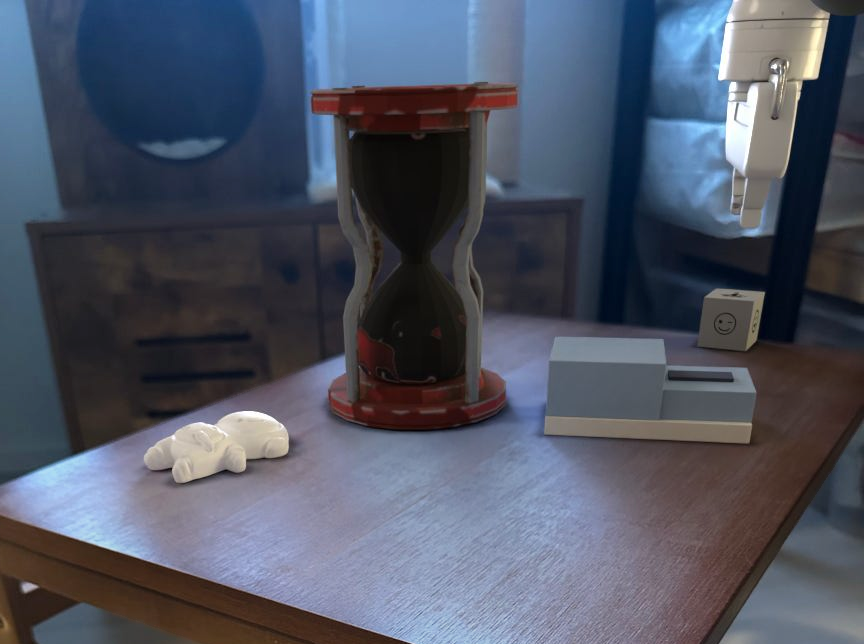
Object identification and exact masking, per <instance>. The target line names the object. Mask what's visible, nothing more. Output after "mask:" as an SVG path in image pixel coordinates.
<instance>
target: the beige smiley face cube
mask: <svg viewBox="0 0 864 644" xmlns="http://www.w3.org/2000/svg"><path fill="white" fill-rule="evenodd" d="M765 294H766V291H758V290H757V291H755V290H744V289H743V290H742V289H731V288H715V289H713V290H712V291H711V292H709V293H708V294H706V295H705V296H704V297H703V303H702V310H701V316H700V324H699V330H698V339H697V345H696V346H697V347H701V348H711V349H719V350H727V351H738V352H747V351H748V350H749V349H750V348H751V347H752V346H753V345H754V344H755V343H756V341H757V339H758V334H759V329H760V323H761V316H762V312H763V307H764V306H763V305H764V301H765V300H764V299H765Z"/></svg>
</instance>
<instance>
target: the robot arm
mask: <svg viewBox="0 0 864 644" xmlns="http://www.w3.org/2000/svg"><path fill="white" fill-rule="evenodd" d="M863 14H864V0H732V3H731V6H730V8H729V11H728V14H727V16H726V21H725V28H724V29H725V30H724V36H723V44H722V48H721V49H722V50H721V56H720V63H719V69H718V70H719V71H718V76H717V77H718V78H717V80H718V81H719V82H730V83H729V85H728V86H729V87H728V95H727V96H728V97H727V108H726V109H727V110H726V112H727V113H726V125H725V126H726V127H725V145H724V146H725V160H726V161H727V162H728V163H729V164H730V165H731V166H732V167H733V171H732V184H731V185H732V186H731V188H732V189H731V200H730V208H729V211H730V213H731V214H732V215H734V216H739V220H738V223H739V225H740V227H741V228H742V229H746V230H747V229H750V230H751V229H752V230H753V229H757V228H759V227H760V225H761V220H762V216H763V211H764V207H765V204H766V201H767V198H768V195H769V192H770V189H771V185H772V184H771V183H772V180H779V179H782V178H783V177H784V176H785V174H786V172H787V169H788V164H789V160H790V154H791V150H792V149H791V148H792V142H793V135H794V131H795V130H794V129H795V123H796V116H797V110H798V102H799V100H800V97H801V93H802V92H801V90H802V87H803V81H812V80H814V81H815V80H817V79H818V78H819V74H820V69H821V63H822V59H823V58H822V57H823V53H824V48H825V42H826V37H827V32H828V26H829V21H830V16H831V15H835V16H840V17H841V16H842V17H850V16H851V17H852V16H858V15H863Z"/></svg>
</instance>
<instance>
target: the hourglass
mask: <svg viewBox="0 0 864 644" xmlns="http://www.w3.org/2000/svg"><path fill="white" fill-rule="evenodd" d="M518 87H519V85H518V83H515V82H514V83H512V82H506V83H505V82H504V83H503V82H501V83H494V82H493V83H489V81H474V82H473V83H459V84H458V83H456V84H455V83H454V84H427V85H426V84H419V85H418V84H417V85H391V86H366V85H351V87H332V88H320V89H311V90H310V92H309V93H310V94H311V96H310V111H311V112H310V113H312V114H314V115H317V116H318V115H319V116H333V135H334V155H335V156H334V158H335V178H336V198H337V218H338V221H339V224H340V228H341V230H342V234H343V235H344V236H345V238H346V239H347V241H348V242H349V243H350V245H351V246H352V251H353V256H354V262H355V273H354V284H353V287H352V289H351V291H350V293H349V295H348V297H347V299H346V300H345V305H344V311H343V316H342V322H343V343H344V344H343V345H344V359H345V360H344V362H345V372H344V373H343V374H341V375H340V376H338V377H336V378H335V379H332V381H331V383H330V385H329V386H328V388H327V399H328V406H329V408H330V409H331V411H332V413H333V414H334V415H336V416H338V417H340V418H342V419H343V420H345V421H347V422H350V423H355V424H359V425H362V426H366V427H372V428H379V429H386V430H387V429H388V430H390V429H391V430H411V431H413V430H415V431H416V430H418V431H421V430H422V431H423V430H424V431H425V430H435V429H446V428H455V427H460V426H464V425H469V424H476V423H478V422H480V421H483V420H485V419H488V418H490V417H492V416H495V415H496V414H498V413H499V412H500V411H501V410H502V409H503V408H504V407H505V406H506V400H507V381H506V380H505V379H503V377H502V376H500V375H499V374H498V373H496V372H494V371H491V370H489V369H486V368H483V367H482V352H483V351H482V349H483V347H482V346H483V313H484V312H483V311H484V310H483V309H484V308H483V307H484V289H483V285H482V280H481V276H480V275H479V273H478V272H477V270H476V269H475V267H474V260H473V259H474V258H473V249H472V248H473V242H474V241H475V239H476V237H477V236H478V234H479V232H480V229H481V228H480V227H481V225H482V221H483V217H484V207H485V203H486V199H487V198H486V196H487V195H486V194H487V190H486V189H487V187H486V186H487V153H488V151H487V149H488V148H487V147H488V120H489V116H490V113H491V111H500V110H509V109H516V108H517V107H518V93H519V91H518V89H517V88H518ZM350 132H353V133H352V136H350ZM353 194H354V195H355V204H356V209H357V215H358V218H359V220H360V223H361V225H362V227H363V229H364V231H365V237H366V239H365V238H364V237H363V236H362V234H361V233H360V231H359V228H358V226H357V223H356V220H355V217H354V210H353V209H354V208H353V207H354V206H353ZM466 210H467V214H466V216H465V218H464V219H463V221H462V223H461V224H460V226H459V229H458V233H457V238H456V241H455V242H454V247H453V252H452V257H451V261H450V268H451V273H452V280H453V284H454V285H453V284H452V282H451V281H450V280H449V278H447V276H446V275H444V274H443V272H442V271H441V270H440V269H439V268H438V267H437V266H436V265H435V264H434V263H433V262H432V251H433V250H434V249H435V248H436V246H438V244H439V243H440V242H441V241H442V240H443V239H444V238H445V237H446V235H447V234H448V233H449V232H450V231H451V230H452V228H453V227H454V226H455V225H456V224H457V223H458V221H459V220H460V218H461V217H462V216H463V214H464V213H465V212H466ZM382 234H383V235H384V236H385V237H386V239H387V240H388V241H389V242H390V243H391V244H392V245H393V246H394V247H395V248H396V250H398V251H399V253H400V263H398V265H397V266H396V267H395V268H394V269H393V270H392V271H391V273H390V274H389V275H388V276H387V277H386V278H385V280H384V281H383V282H382V283H381V284H380V285H379V287H378V288H377V290H376V291H375V292H374V293H373V291H374V286H375V282H376V279H377V277H378V275H379V274H380V272H381V270H382V266H383V258H384V251H385V248H384V243H383V238H382ZM359 315H360V317H359ZM358 317H359V321H358Z"/></svg>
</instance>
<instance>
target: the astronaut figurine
mask: <svg viewBox="0 0 864 644" xmlns="http://www.w3.org/2000/svg"><path fill="white" fill-rule="evenodd" d="M289 437H290V436H289V433H288V431H287V428H286V427H285V426H284V425H283V424H282V423H280V422H279V421H278V420H276V419H275V418H273V417H272V416H271V415H268V414H265V413H262V412H259V411H252V410H251V411H250V410H247V411H246V410H244V411H237V412H231V413H228V414H227V415H225V416H223V417H221V418H220V419H219V420H218V421H217V422H216V423H214V425H213V424H210V423H205V422H201V421H200V422H192V423H190V424H187V425H186V426H183V427H180V428H179V429H177V430H176V431H175V432H174V433H173V434H172V435H170V436H168V437H165V438H163V439H161V440H158V441H157V442H156V443H155V444H154V446H150V447H149V448H148V449H147V450H146V453H145V454H144V456H143V462H144V464H145V466H146V467H147V468H148V469H149V470H151V471H161V470H166V469H171V468H172V470H171V473H172V476H173V479H174V481H175V482H176V483H177V484H184V483H188V482H190V481H193V480H197V479H198V480H199V479H202V478H205V477H208V476H211V475H214V474H217V473H219V472H222V471H225V470H227V471H230V472H232V473H237V474H238V473H242V472H245V470H246V468H247V460H256V459H262V458H263V459H264V458H266V459H276V458H281V457H283V456H286V455H287V454H288V453H289V449H290V448H289V447H290V446H289V445H290V443H289V442H290V438H289Z"/></svg>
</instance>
